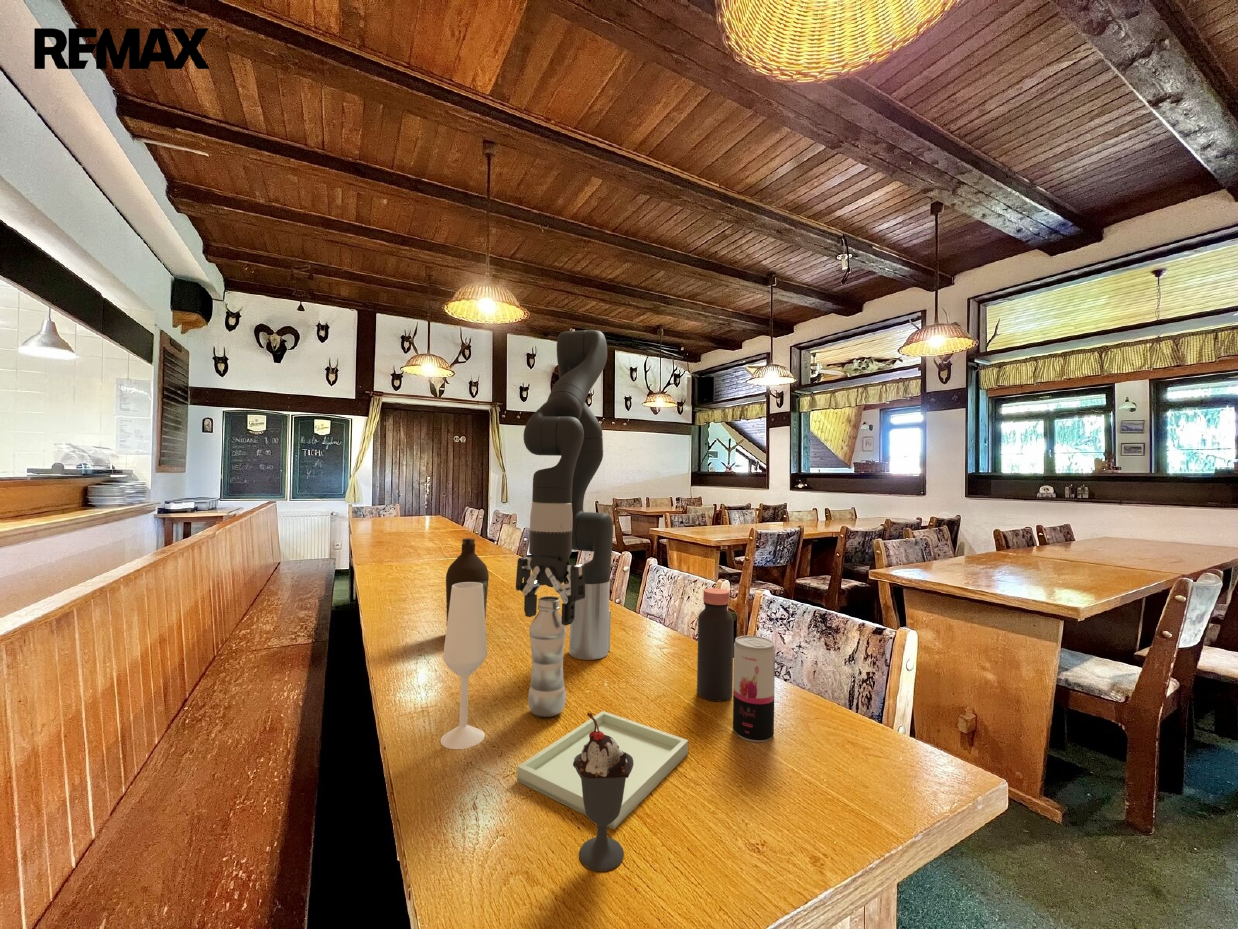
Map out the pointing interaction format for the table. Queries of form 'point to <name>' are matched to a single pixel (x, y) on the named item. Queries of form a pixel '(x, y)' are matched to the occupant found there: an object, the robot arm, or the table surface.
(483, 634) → the champagne flute
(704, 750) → the table surface
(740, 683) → the beverage can
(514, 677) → the table surface
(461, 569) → the olive oil
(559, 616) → the silver metal bottle
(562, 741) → the tray
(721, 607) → the dark grey water bottle
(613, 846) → the sundae
